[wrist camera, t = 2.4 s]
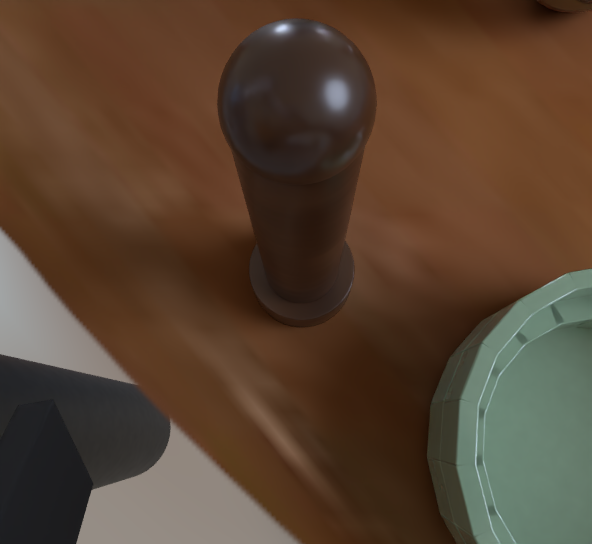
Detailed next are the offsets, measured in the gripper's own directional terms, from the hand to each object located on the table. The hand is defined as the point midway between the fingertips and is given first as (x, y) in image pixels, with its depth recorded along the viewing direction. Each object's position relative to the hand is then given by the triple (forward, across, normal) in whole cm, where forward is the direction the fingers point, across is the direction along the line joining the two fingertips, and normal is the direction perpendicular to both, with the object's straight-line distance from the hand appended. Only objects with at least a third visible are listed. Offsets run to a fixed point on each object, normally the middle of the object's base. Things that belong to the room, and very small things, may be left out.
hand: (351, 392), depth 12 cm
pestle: (+15, 0, -5) cm, 16 cm away
